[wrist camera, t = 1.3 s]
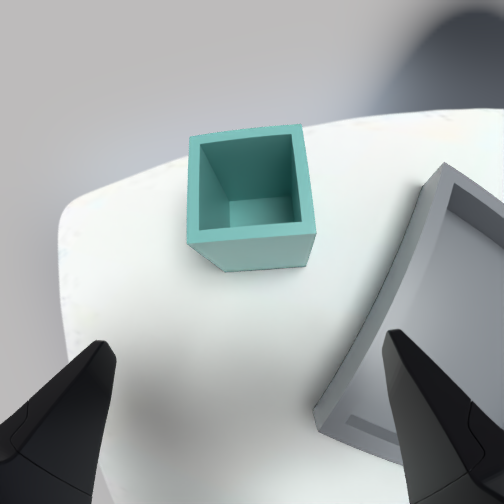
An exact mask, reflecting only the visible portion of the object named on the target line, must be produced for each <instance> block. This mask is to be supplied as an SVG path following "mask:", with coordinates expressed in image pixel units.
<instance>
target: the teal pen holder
mask: <svg viewBox="0 0 504 504" xmlns="http://www.w3.org/2000/svg"><path fill="white" fill-rule="evenodd" d="M315 236H316V225H315V216H314V208H313V200H312V192H311V184H310V177H309V170H308V163H307V156H306V150H305V143H304V137H303V131H302V125H301V124H295V125H281V126H270V127H259V128H250V129H240V130H233V131H224V132H217V133H210V134H204V135H198V136H191V137H190V140H189V160H188V189H187V244H188V245H189V246H190V247H192V248H193V249H194V250H196V251H197V252H198V253H200V254H201V255H202V256H204V257H205V258H206V259H208V260H209V261H210V262H212V263H213V264H214V265H216V266H217V267H219V268H220V269H221V270H223V271H224V272H238V271H252V270H266V269H280V268H293V267H306V265H307V262H308V259H309V255H310V252H311V249H312V246H313V243H314V240H315Z"/></svg>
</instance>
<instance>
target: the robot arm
mask: <svg viewBox="0 0 504 504" xmlns="http://www.w3.org/2000/svg"><path fill="white" fill-rule="evenodd" d="M382 357H383V364H384V370H385V377H386V385H387V392H388V398H389V403H390V407H391V411H392V415H393V419H394V423H395V428H396V432H397V437H398V442H399V446H400V451H401V456H402V461H403V467H404V472H405V478H406V483H407V489H408V496H409V502H410V504H504V430H503V429H502V428H500V427H499V426H498V425H497V424H496V423H495V422H494V421H493V420H492V419H490V418H489V417H488V416H487V415H486V414H485V413H484V412H483V411H482V410H481V409H480V408H479V407H478V406H477V405H476V403H475V402H474V401H471V398H470V397H469V396H468V395H467V394H466V393H465V392H464V391H463V390H462V389H461V388H460V387H459V386H458V385H457V384H456V383H455V382H454V381H453V380H452V379H451V378H450V377H449V376H448V375H447V374H446V373H445V372H444V371H443V370H442V369H441V368H440V367H439V366H438V365H437V364H436V363H435V362H434V361H433V360H432V359H431V358H430V357H429V356H428V355H427V354H426V353H425V352H424V351H423V350H422V349H421V348H420V347H419V346H418V345H417V344H416V343H415V342H414V341H413V340H411V339H410V338H409V337H408V336H407V335H406V334H405V333H404V332H403V331H402V330H401V329H392V330H388V331H387V332H386V335H385V339H384V342H383V346H382ZM115 368H116V356H115V354H114V352H113V351H112V349H111V348H110V346H109V344H108V343H107V342H106V341H103V340H95V341H94V342H92V343H91V344H90V345H89V346H88V347H87V348H86V349H84V350H83V351H82V352H81V353H80V354H79V355H78V356H77V357H75V358H74V359H73V360H72V361H71V362H70V363H69V364H68V365H66V366H65V367H64V368H63V369H62V370H61V371H60V372H59V373H58V374H56V375H55V376H54V377H53V378H52V379H51V380H50V381H49V382H48V383H47V384H45V385H44V386H43V387H42V388H41V389H40V390H39V391H38V392H37V393H36V394H35V395H33V396H32V397H31V398H30V399H29V401H27V402H26V403H25V404H24V405H23V406H22V407H21V408H19V409H18V410H17V411H16V412H15V413H14V414H13V415H12V416H10V417H9V418H8V419H7V420H5V421H4V422H3V423H2V424H0V504H91V502H92V493H93V487H94V481H95V475H96V469H97V463H98V458H99V452H100V447H101V442H102V437H103V432H104V428H105V423H106V419H107V414H108V410H109V406H110V401H111V395H112V388H113V381H114V374H115Z"/></svg>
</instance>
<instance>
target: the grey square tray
mask: <svg viewBox="0 0 504 504" xmlns="http://www.w3.org/2000/svg"><path fill="white" fill-rule="evenodd" d="M392 329H401V330H402V331H403V332H404V333H405V334H406V335H407V336H408V337H409V338H410V339H411V340H413V341H414V342H415V343H416V344H417V345H418V346H419V347H420V348H421V349H422V350H423V351H424V352H425V353H426V354H427V355H428V356H429V357H430V358H431V359H432V360H433V361H434V362H435V363H436V364H437V365H438V366H439V367H440V368H441V369H442V370H443V371H444V372H445V373H446V374H447V375H448V376H449V377H450V378H451V379H452V380H453V381H454V382H455V383H456V384H457V385H458V386H459V387H460V388H461V389H462V390H463V391H464V392H465V393H466V394H467V395H468V396H469V397H470V398H471V401H474V402H475V403H476V405H477V406H478V407H479V408H480V409H481V410H482V411H483V412H484V413H485V414H486V415H487V416H488V417H489V418H490V419H492V420H493V421H494V422H495V423H496V424H497V425H498V426H499V427H500V428H502V429H503V430H504V203H502V202H501V201H500V200H498V199H497V198H496V197H494V196H493V195H492V194H490V193H489V192H488V191H486V190H485V189H484V188H482V187H481V186H479V185H478V184H477V183H475V182H474V181H472V180H471V179H469V178H468V177H467V176H465V175H464V174H462V173H461V172H459V171H458V170H456V169H454V168H453V167H451V166H450V165H448V164H447V163H445V162H444V163H443V164H442V165H441V166H440V167H439V168H438V169H437V171H436V172H435V173H434V174H433V175H432V176H431V177H430V178H429V180H428V181H427V182H426V183H425V184H424V185H423V186H422V189H421V192H420V195H419V198H418V201H417V204H416V206H415V209H414V212H413V215H412V217H411V220H410V222H409V225H408V228H407V230H406V233H405V235H404V238H403V240H402V243H401V245H400V247H399V250H398V252H397V255H396V257H395V259H394V262H393V264H392V266H391V268H390V271H389V273H388V275H387V277H386V279H385V282H384V284H383V286H382V288H381V290H380V292H379V294H378V296H377V299H376V301H375V303H374V305H373V307H372V309H371V311H370V313H369V315H368V317H367V319H366V321H365V322H364V324H363V326H362V328H361V330H360V332H359V334H358V336H357V338H356V339H355V341H354V343H353V345H352V347H351V349H350V350H349V352H348V354H347V356H346V357H345V359H344V361H343V363H342V364H341V366H340V368H339V370H338V371H337V373H336V375H335V376H334V378H333V380H332V381H331V383H330V384H329V386H328V388H327V389H326V391H325V393H324V394H323V396H322V397H321V399H320V400H319V402H318V404H317V405H316V407H315V408H314V410H313V414H314V418H315V422H316V426H317V430H318V432H320V433H322V434H324V435H327V436H329V437H331V438H333V439H336V440H338V441H340V442H343V443H345V444H347V445H350V446H352V447H354V448H357V449H359V450H362V451H364V452H367V453H369V454H372V455H375V456H377V457H380V458H383V459H385V460H388V461H391V462H394V463H397V464H400V465H403V461H402V456H401V451H400V446H399V442H398V437H397V432H396V428H395V423H394V419H393V415H392V411H391V407H390V403H389V398H388V392H387V385H386V377H385V370H384V364H383V357H382V346H383V342H384V339H385V335H386V332H387V331H388V330H392Z"/></svg>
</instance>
